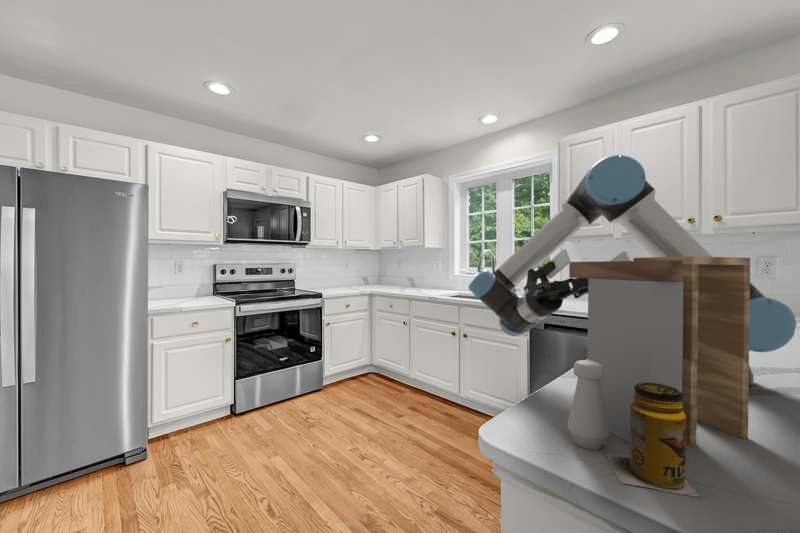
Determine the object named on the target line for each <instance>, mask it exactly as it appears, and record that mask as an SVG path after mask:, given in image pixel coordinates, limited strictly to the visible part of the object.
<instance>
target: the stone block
mask: <svg viewBox="0 0 800 533" xmlns="http://www.w3.org/2000/svg"><path fill="white" fill-rule="evenodd" d="M587 298H588V299H587V355H586V356H587V359H586V360H590V361H594V362H597V363H600V364H601V365H602V366H603V368H604V376H603V378H602V379H600V385H601V390H602V396H603V401H604V407H605V412H606V418H607V423H608V429H609V432H611V433H612V434H615V436H618V437H619V438H621V439H623V440H624V441H627V442H628V443H630V442H631V438H630V437H631V404H632V403H633V402H634V401H635V399H634V394H635V390H634V387H635V385H637V384H638V383H657V384H662V385H666V386H670V387H673V388H675V389H678V390H679V391H680V392H681V393H682V352H683V282H657V281H635V280H614V279H588V293H587Z"/></svg>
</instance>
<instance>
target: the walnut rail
mask: <svg viewBox="0 0 800 533" xmlns="http://www.w3.org/2000/svg"><path fill="white" fill-rule="evenodd" d="M568 275H569V276H568V277H569V279H570V278H573V279H576V278H592V279H614V280H635V281H657V282H682V261H667V260H663V261H633V260H631V261H610V260H609V261H608V260H607V261H605V260H603V261H571V262H570V263H569V274H568Z"/></svg>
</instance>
